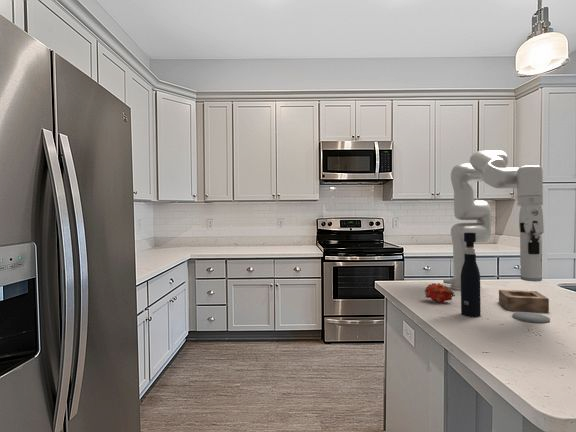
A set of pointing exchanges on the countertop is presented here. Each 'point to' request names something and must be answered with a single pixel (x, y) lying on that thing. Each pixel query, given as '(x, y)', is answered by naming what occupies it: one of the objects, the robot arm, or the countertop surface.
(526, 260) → the travel mug
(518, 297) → the mug holder
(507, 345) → the countertop surface
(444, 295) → the dragon fruit
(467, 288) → the black water bottle
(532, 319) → the coaster
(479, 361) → the countertop surface
